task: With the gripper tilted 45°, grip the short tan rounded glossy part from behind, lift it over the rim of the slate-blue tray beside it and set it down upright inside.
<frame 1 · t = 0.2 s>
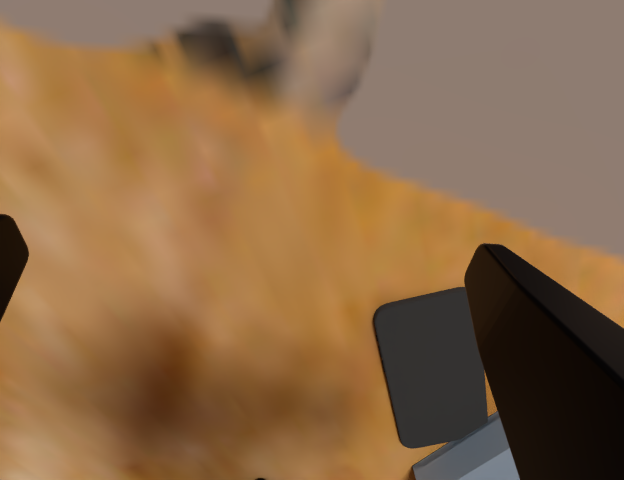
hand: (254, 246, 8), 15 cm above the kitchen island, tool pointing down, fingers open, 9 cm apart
phone: (432, 369, 30), on the kitchen island
tray: (537, 460, 35), on the kitchen island
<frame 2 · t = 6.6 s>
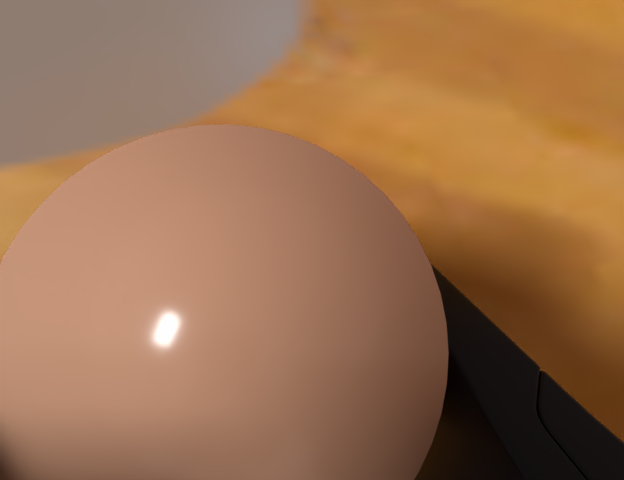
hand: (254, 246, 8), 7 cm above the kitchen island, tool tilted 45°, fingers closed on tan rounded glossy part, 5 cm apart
tan rounded glossy part: (265, 299, 14), on the kitchen island, touching gripper
when the fingers open (8 cm above the kitchen island, at t = 11.6 s): tan rounded glossy part drops 1 cm, resting on tray.
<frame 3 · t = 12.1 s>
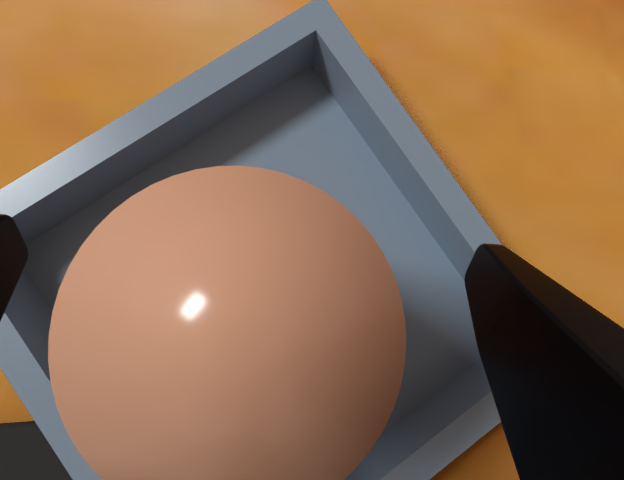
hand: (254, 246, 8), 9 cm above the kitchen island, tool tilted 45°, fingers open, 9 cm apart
tan rounded glossy part: (267, 298, 15), point 1 cm above the kitchen island, touching tray
tray: (268, 296, 16), on the kitchen island
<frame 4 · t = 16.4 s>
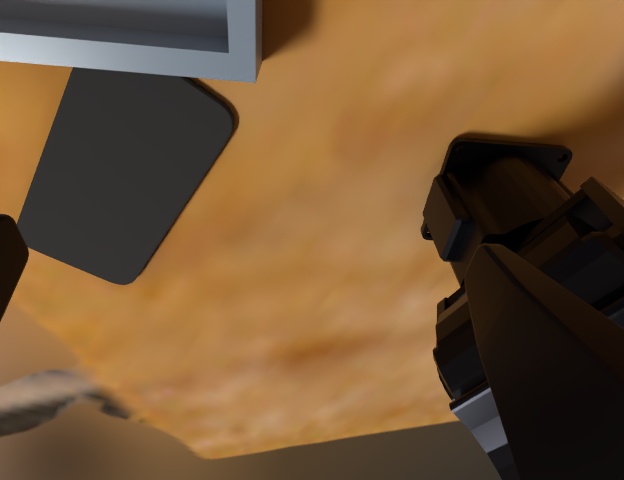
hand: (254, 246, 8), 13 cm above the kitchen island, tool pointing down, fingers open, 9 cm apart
phone: (121, 177, 22), on the kitchen island
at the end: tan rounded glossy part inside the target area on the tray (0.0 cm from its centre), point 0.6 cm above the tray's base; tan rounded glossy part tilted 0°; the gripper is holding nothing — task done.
